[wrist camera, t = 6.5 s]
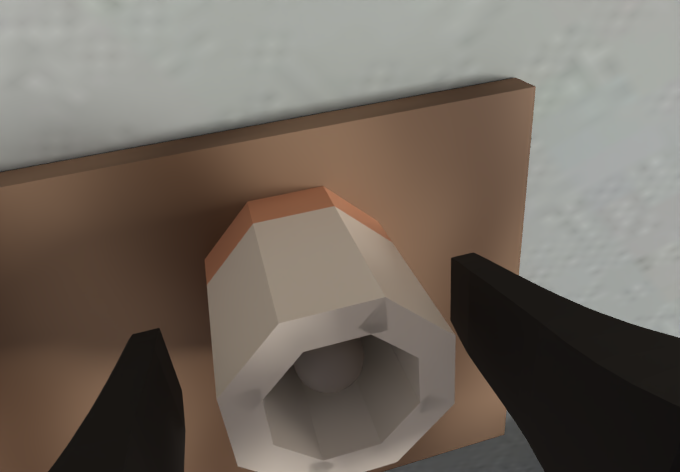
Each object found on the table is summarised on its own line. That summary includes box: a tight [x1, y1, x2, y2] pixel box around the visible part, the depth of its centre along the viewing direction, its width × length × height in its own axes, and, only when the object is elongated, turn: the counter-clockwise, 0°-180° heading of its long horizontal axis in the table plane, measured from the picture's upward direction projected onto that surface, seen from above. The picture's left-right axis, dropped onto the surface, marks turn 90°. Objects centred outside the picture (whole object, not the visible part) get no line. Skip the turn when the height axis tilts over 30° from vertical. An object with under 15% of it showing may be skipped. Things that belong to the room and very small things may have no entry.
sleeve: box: [205, 186, 456, 472], centre depth 13 cm, size 5×5×5 cm
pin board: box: [0, 78, 536, 472], centre depth 15 cm, size 20×14×5 cm
